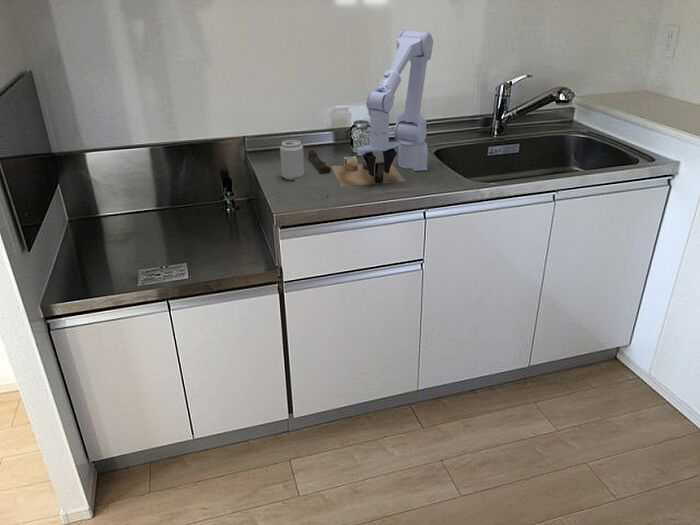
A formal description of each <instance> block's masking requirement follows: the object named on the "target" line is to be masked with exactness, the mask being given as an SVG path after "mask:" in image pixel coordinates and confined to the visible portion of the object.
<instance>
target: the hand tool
mask: <svg viewBox="0 0 700 525" xmlns="http://www.w3.org/2000/svg"><path fill="white" fill-rule="evenodd" d="M307 153H308V154H307V155H308V160H309V162H310V163H311V164H312V166H313V167H314V168H315V170H317V171H318V172H319V173H318V174H319V175H326V174H331V172H332V168H331V166H329V165H326V162H324V161H323V160H322V159H320V158H319V156H318V153H317V152H316V151H315V150H313V149H310V150H308V151H307Z"/></svg>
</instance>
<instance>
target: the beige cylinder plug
mask: <svg viewBox="0 0 700 525" xmlns="http://www.w3.org/2000/svg"><path fill="white" fill-rule="evenodd" d="M358 161H359V160H358V158H357V157H356V158H349V159H347V170H348V171H357V170H358V164H359V163H358Z"/></svg>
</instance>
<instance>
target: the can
mask: <svg viewBox="0 0 700 525" xmlns="http://www.w3.org/2000/svg"><path fill="white" fill-rule="evenodd" d="M301 143H302V141H300V140H298V139H288V140H283V141H282V142H281V146H280V147H279V153H280V167H281V169H280V170H281V177H283V178H284V179H285V180H288V181H296V179H295V178H300V177H302V176H304V175H305V164H304V163H305V162H304V157H305V156H304V146H303V145H302V144H301Z"/></svg>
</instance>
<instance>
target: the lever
mask: <svg viewBox="0 0 700 525" xmlns="http://www.w3.org/2000/svg"><path fill="white" fill-rule="evenodd" d="M383 162H384V161H376V160H375V165H374V176H372V177H373V178H374V180H375V182H378V183H380V182H383V175H384V163H383ZM362 164H363V168H364V169H368V167H367V164H366V162H365V160H364V159H363V160H362Z"/></svg>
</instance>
